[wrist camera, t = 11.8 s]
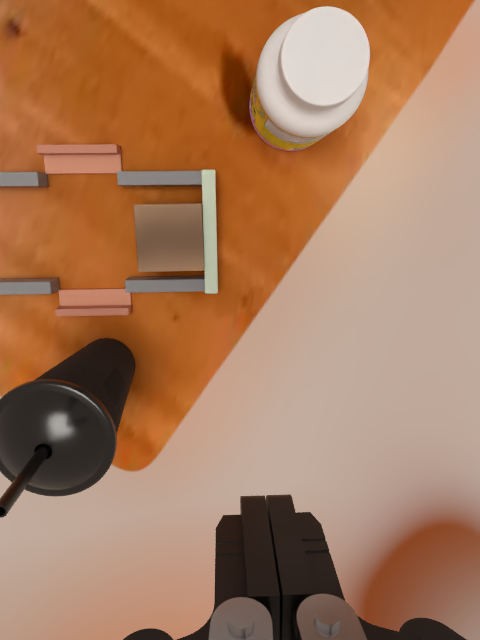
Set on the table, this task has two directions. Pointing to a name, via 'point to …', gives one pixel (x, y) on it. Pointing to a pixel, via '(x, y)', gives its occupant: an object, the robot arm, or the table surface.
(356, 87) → the supplement bottle
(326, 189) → the table surface
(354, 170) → the table surface
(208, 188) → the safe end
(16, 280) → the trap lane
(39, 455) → the drinking cup
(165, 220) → the walnut block
